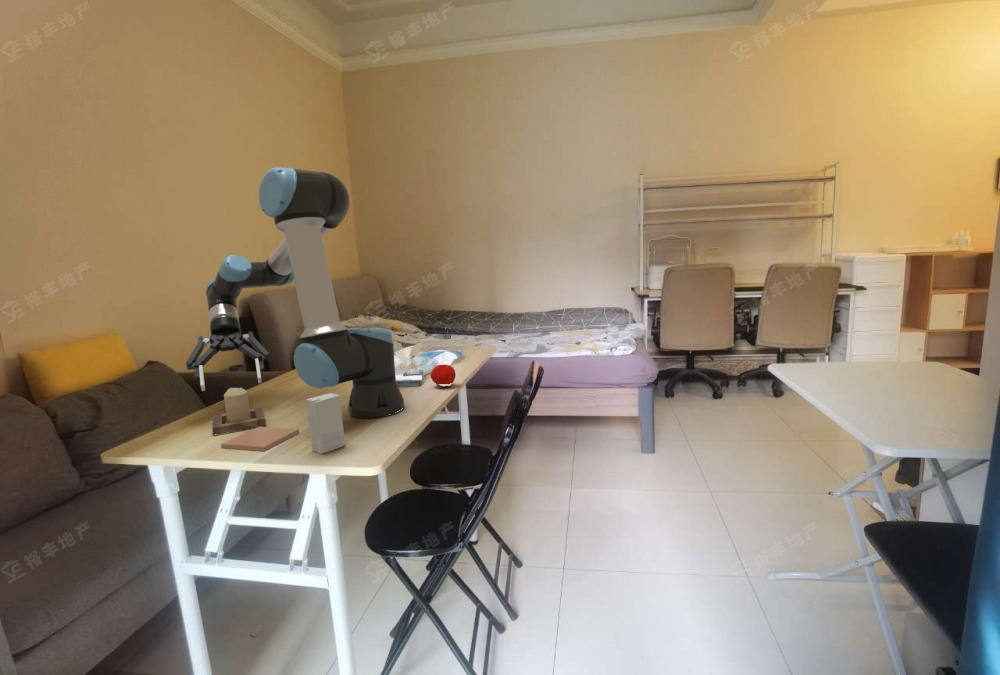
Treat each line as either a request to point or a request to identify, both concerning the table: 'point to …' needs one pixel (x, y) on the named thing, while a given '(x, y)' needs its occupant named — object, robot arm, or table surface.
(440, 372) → the apple
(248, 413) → the candle
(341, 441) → the skincare box
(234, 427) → the walnut holder
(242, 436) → the terracotta tile
